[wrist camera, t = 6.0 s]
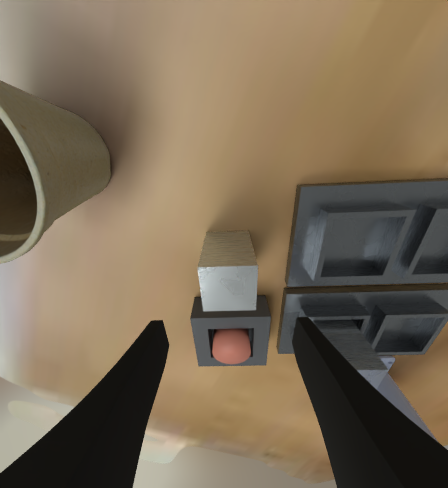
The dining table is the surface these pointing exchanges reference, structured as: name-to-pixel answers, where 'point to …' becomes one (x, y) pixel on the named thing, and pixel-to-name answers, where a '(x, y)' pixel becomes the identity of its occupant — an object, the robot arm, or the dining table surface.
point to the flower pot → (43, 167)
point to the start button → (231, 345)
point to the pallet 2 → (371, 314)
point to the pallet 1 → (369, 233)
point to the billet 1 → (228, 272)
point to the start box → (249, 319)
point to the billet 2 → (354, 348)
